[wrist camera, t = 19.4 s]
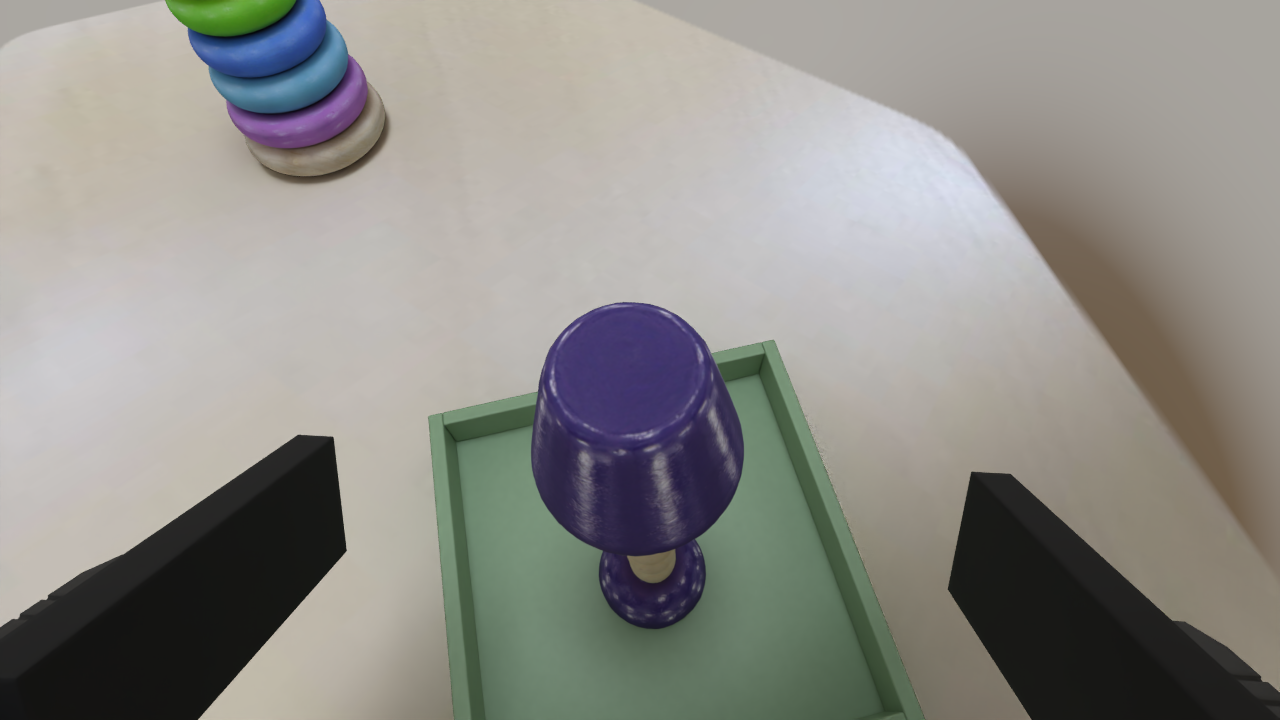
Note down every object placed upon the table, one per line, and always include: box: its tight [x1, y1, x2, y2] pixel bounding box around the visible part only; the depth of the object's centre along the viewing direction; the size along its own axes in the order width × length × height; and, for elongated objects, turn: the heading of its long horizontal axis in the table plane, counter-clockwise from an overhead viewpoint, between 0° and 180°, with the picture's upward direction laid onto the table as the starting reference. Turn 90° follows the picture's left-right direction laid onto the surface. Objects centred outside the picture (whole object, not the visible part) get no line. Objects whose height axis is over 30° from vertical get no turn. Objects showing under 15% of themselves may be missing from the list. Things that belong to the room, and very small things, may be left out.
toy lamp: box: [531, 302, 744, 629], centre depth 18 cm, size 5×5×17 cm
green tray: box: [428, 340, 925, 720], centre depth 25 cm, size 15×15×2 cm
